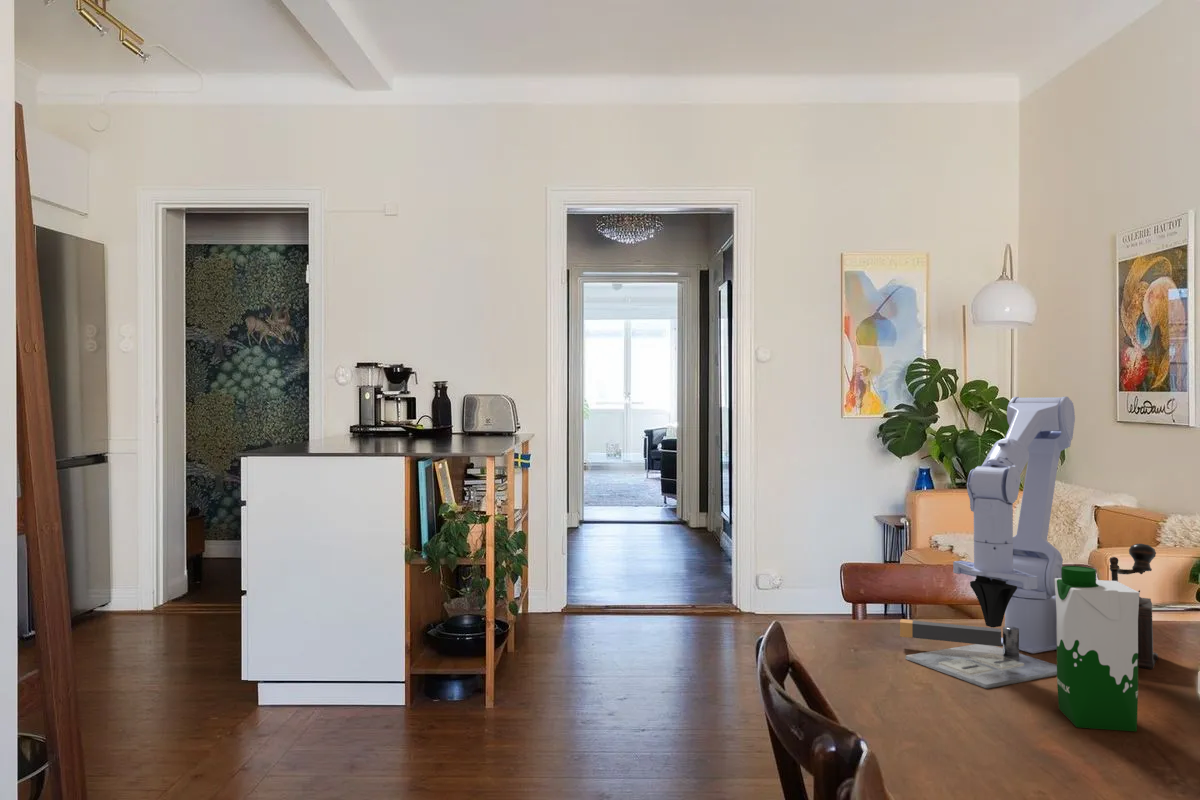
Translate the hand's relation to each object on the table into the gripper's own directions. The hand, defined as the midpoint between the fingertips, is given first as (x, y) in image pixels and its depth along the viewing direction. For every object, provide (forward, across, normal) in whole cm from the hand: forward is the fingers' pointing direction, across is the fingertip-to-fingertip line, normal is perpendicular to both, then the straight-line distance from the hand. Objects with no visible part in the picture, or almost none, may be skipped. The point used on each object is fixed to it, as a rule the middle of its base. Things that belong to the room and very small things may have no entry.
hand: (993, 625), depth 135 cm
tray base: (+6, 0, -1) cm, 6 cm away
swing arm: (+4, -8, -1) cm, 9 cm away
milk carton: (+6, +23, -7) cm, 25 cm away
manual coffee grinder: (+7, +4, +25) cm, 26 cm away
